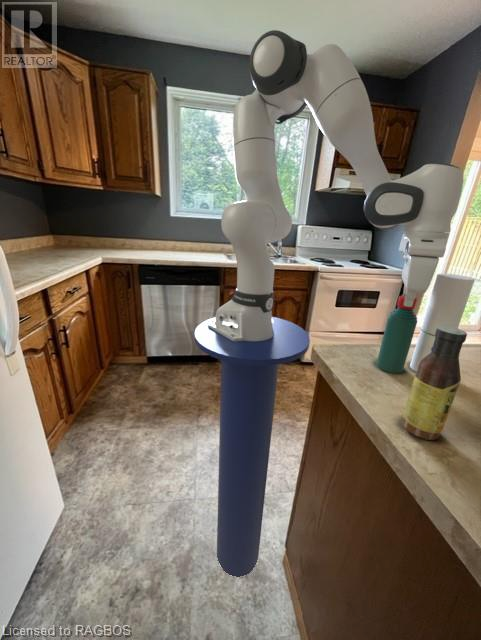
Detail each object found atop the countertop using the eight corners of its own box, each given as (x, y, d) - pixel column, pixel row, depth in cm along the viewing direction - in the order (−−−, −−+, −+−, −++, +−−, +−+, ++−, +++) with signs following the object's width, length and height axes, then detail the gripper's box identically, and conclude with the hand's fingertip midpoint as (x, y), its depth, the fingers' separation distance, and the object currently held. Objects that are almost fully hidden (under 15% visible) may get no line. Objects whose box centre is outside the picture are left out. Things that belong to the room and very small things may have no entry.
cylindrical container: (443, 380, 68) (478, 281, 59) (410, 371, 71) (439, 276, 62) (439, 367, 73) (471, 276, 65) (409, 360, 77) (435, 272, 68)
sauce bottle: (442, 447, 46) (482, 342, 40) (400, 433, 49) (432, 332, 42) (437, 424, 52) (472, 328, 45) (400, 413, 55) (428, 321, 48)
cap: (397, 307, 66) (399, 298, 65) (396, 303, 69) (398, 294, 68) (415, 310, 64) (418, 300, 63) (413, 306, 67) (416, 297, 67)
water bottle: (373, 367, 72) (390, 298, 65) (379, 358, 77) (396, 294, 70) (400, 376, 68) (420, 304, 62) (405, 366, 73) (425, 299, 66)
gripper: (403, 241, 72) (391, 292, 76) (410, 246, 54) (393, 311, 59) (431, 243, 69) (417, 296, 74) (447, 249, 52) (427, 317, 56)
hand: (406, 303), depth 66 cm, fingers closed on cap, 4 cm apart
